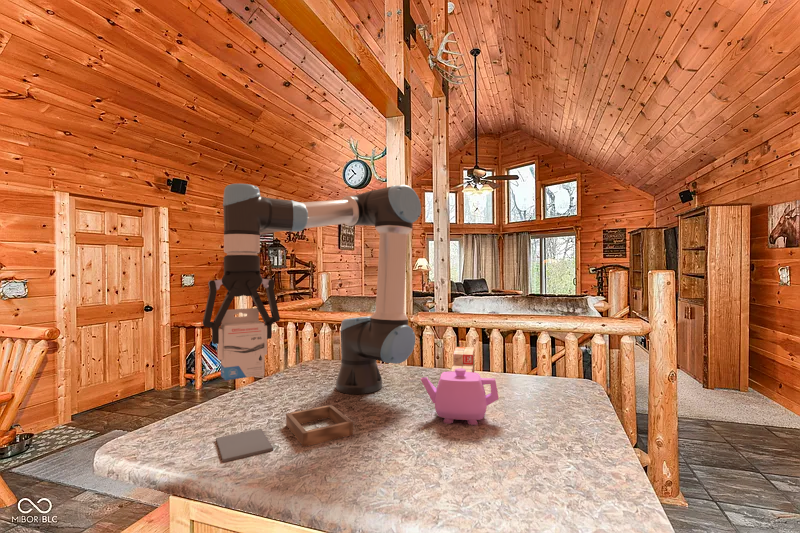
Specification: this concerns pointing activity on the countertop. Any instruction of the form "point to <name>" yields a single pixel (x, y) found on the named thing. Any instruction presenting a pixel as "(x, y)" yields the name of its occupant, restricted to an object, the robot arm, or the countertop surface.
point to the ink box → (242, 344)
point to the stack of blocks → (464, 359)
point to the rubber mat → (243, 445)
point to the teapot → (461, 395)
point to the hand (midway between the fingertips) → (242, 355)
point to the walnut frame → (324, 433)
